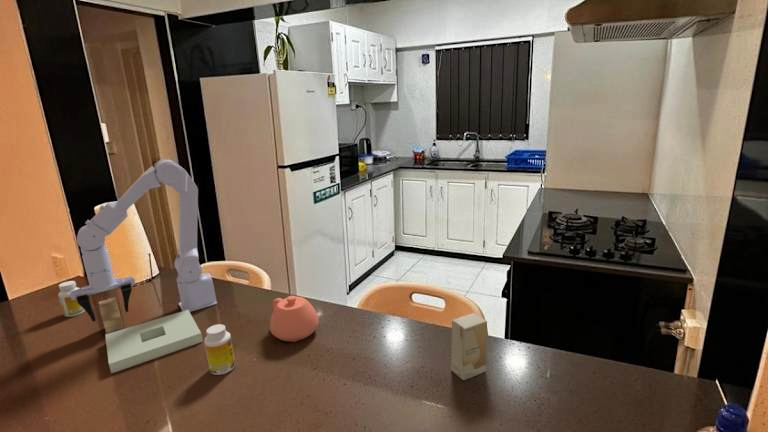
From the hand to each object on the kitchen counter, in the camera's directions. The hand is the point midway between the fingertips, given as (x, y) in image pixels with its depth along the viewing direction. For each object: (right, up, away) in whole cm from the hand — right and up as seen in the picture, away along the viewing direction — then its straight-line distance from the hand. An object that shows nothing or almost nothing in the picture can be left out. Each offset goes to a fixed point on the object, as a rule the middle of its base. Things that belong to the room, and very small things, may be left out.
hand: (110, 315), depth 114 cm
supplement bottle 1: (-18, -2, +11) cm, 21 cm away
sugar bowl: (+52, -3, -6) cm, 52 cm away
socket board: (+16, -5, -7) cm, 18 cm away
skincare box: (+93, -6, -25) cm, 97 cm away
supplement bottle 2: (+38, -8, -19) cm, 44 cm away
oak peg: (0, -4, +1) cm, 4 cm away
